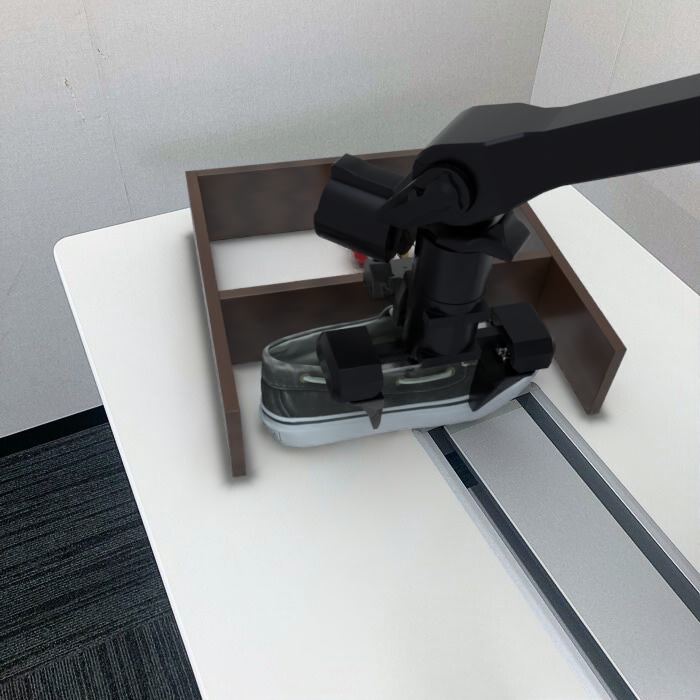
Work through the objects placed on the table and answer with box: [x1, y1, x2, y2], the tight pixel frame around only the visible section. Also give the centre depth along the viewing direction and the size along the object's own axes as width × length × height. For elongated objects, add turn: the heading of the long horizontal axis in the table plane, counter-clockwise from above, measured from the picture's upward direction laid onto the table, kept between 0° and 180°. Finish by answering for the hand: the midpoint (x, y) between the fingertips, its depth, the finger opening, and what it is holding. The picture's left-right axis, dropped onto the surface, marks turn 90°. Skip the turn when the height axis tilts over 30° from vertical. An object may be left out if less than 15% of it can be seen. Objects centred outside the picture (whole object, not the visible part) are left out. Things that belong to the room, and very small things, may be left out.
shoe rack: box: [184, 147, 628, 478], centre depth 78 cm, size 35×35×9 cm
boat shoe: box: [258, 305, 540, 448], centre depth 69 cm, size 10×29×10 cm, turn 113°
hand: (423, 416), depth 67 cm, fingers open, 9 cm apart
